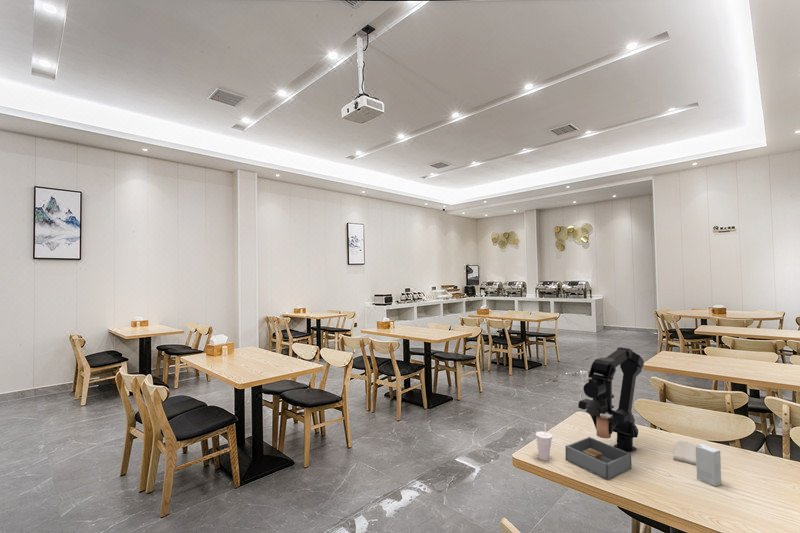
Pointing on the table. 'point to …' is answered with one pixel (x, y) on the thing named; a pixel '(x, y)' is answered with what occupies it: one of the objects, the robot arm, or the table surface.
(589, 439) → the tote
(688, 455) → the washcloth
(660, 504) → the table surface
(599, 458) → the cube
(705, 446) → the skincare box
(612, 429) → the robot arm
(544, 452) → the smoothie
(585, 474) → the table surface
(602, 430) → the cylinder
